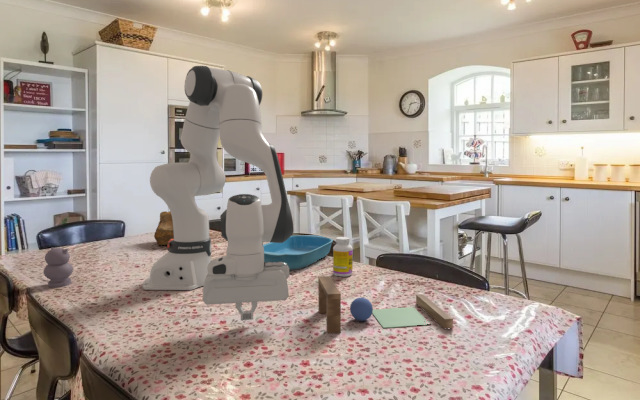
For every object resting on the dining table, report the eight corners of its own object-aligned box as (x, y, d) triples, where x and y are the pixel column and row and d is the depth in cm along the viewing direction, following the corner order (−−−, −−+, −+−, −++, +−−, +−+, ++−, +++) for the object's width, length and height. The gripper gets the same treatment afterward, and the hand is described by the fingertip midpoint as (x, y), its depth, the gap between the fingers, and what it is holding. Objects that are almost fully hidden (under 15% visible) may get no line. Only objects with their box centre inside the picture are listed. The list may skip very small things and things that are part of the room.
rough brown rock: (142, 246, 200) (139, 215, 197) (171, 237, 213) (169, 208, 211) (174, 254, 187) (171, 221, 184) (203, 244, 201) (201, 213, 198)
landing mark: (383, 328, 101) (383, 327, 101) (369, 310, 113) (369, 309, 113) (431, 324, 103) (431, 324, 103) (413, 307, 115) (413, 306, 115)
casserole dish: (298, 275, 147) (298, 255, 147) (245, 268, 157) (245, 249, 156) (340, 253, 180) (340, 237, 180) (294, 249, 190) (294, 233, 189)
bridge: (327, 333, 98) (327, 294, 97) (318, 311, 113) (318, 276, 112) (340, 332, 99) (340, 293, 98) (329, 310, 113) (329, 276, 112)
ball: (378, 316, 103) (358, 327, 103) (374, 310, 109) (354, 320, 109) (368, 296, 103) (348, 307, 103) (364, 291, 109) (344, 301, 108)
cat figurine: (38, 286, 135) (35, 249, 134) (60, 279, 143) (58, 244, 141) (57, 289, 132) (55, 251, 131) (79, 282, 140) (77, 246, 138)
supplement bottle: (351, 277, 143) (351, 240, 142) (331, 276, 145) (331, 239, 143) (353, 272, 150) (353, 236, 148) (334, 271, 151) (334, 235, 150)
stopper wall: (444, 329, 100) (445, 319, 100) (416, 303, 118) (416, 294, 118) (452, 328, 100) (453, 318, 100) (422, 303, 118) (423, 294, 118)
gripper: (288, 258, 106) (288, 311, 108) (203, 261, 103) (205, 317, 104) (290, 264, 100) (291, 321, 101) (200, 268, 97) (202, 327, 98)
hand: (247, 319), depth 103 cm, fingers closed
